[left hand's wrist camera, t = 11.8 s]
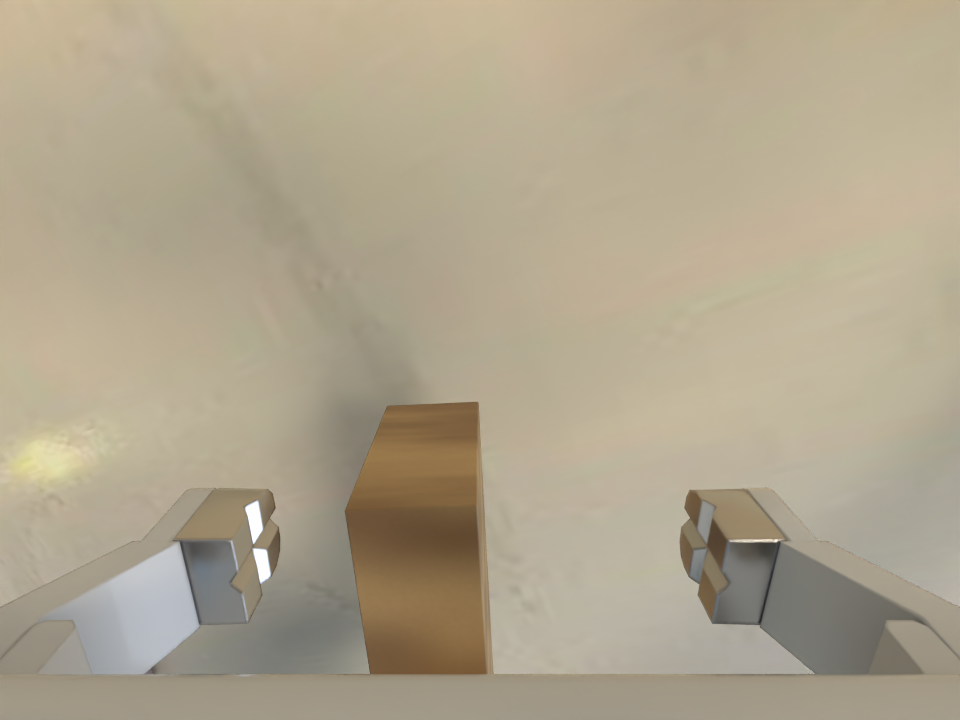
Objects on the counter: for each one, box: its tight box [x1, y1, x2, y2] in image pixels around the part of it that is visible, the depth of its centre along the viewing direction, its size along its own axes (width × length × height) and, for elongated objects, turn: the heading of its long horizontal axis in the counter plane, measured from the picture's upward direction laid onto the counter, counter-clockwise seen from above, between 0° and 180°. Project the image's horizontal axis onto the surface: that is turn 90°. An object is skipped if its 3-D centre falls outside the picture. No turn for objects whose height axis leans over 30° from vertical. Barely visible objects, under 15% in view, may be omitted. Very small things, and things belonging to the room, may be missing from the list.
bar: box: [345, 402, 493, 674], centre depth 28 cm, size 26×5×9 cm, turn 3°
